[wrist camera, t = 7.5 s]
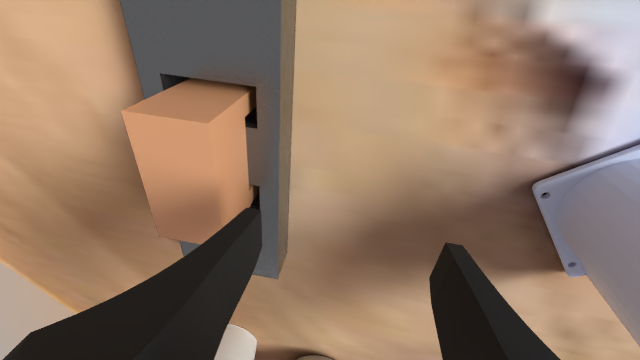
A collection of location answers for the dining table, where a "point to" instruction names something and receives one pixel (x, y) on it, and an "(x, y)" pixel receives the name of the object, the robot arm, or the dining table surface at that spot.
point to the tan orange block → (193, 156)
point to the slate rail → (231, 67)
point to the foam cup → (236, 344)
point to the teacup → (314, 358)
